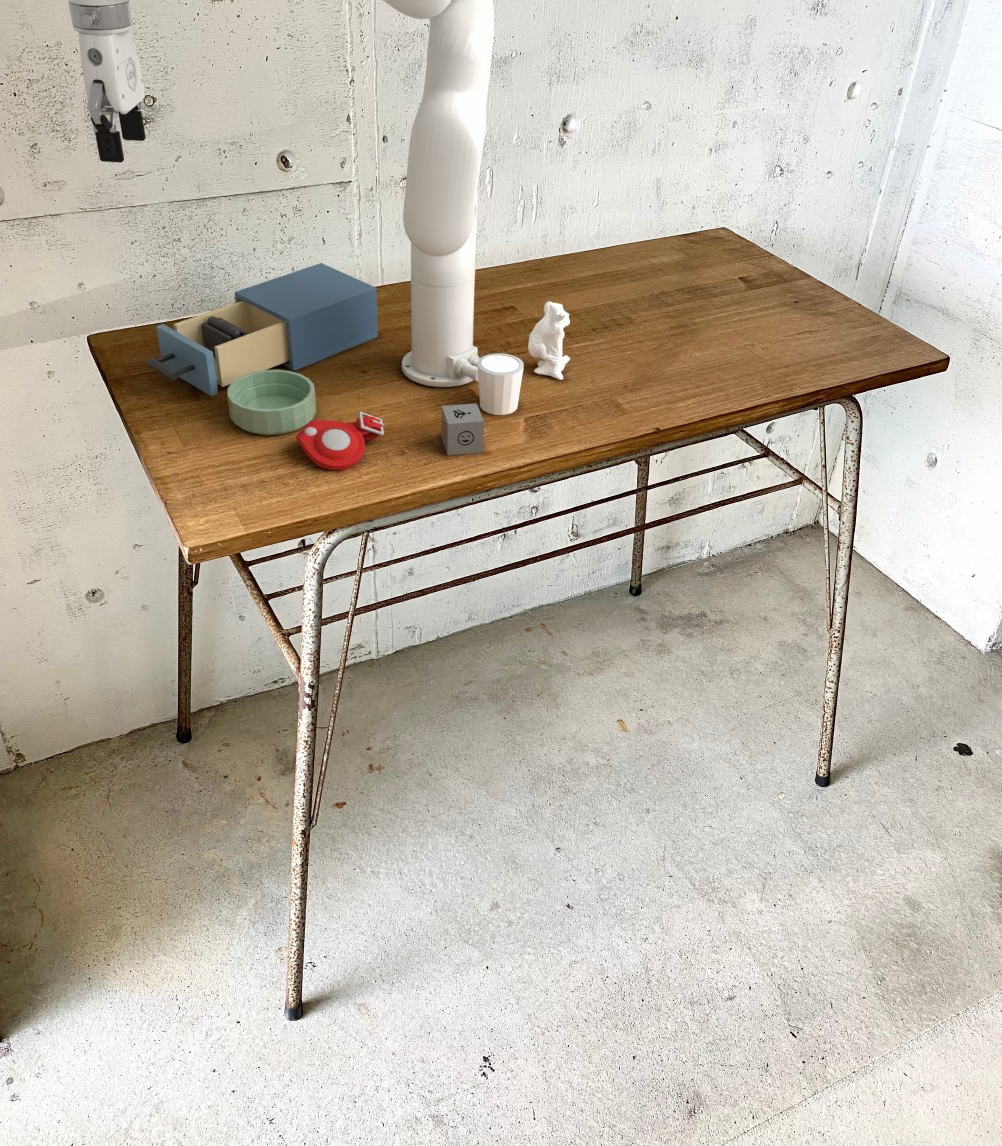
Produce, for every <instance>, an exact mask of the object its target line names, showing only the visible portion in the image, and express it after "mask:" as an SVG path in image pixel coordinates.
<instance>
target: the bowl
mask: <svg viewBox="0 0 1002 1146" xmlns="http://www.w3.org/2000/svg"><path fill="white" fill-rule="evenodd" d="M226 392H227V395H226V396H227V404H228V411H229V418H230V419H231V421H232V422H233V424H234V425H235V426H237V427H238V428H241V429H242V430H244V431H246V432H248V433H252V434H255V435H262V436H278V435H284V434H285V435H286V434H291V433H292V432H296V431H299V430H301V429H303V428H304V426H305V425H306V424H308V423H309V422H311V421H313V420H314V418H315V415H316V413H317V407H316V406H317V405H316V404H317V402H316V390H315V384H314V383H313V381H312V380H311V379H310V378H309V377H307V376H305V375H303V374H301V373H299V372H296V371H292V370H283V369H267V370H263V371H258V372H253V373H249V374H247V375H244V376H242V377H239V378H238V379H236V380H235V381H234V382H232V383H231V384H229V385H228V387H227V391H226Z"/></svg>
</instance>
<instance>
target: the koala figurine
mask: <svg viewBox="0 0 1002 1146" xmlns="http://www.w3.org/2000/svg"><path fill="white" fill-rule="evenodd" d="M543 312H544V313H543V314H544V316H543V317H542V318H541V319H540V320H539V321H538V322H537V323H536V324H535V326H534V327H533V329H532V331H531V332H530V334H529V337H528V343H527V348H528V352H529V354H530V356H531V357H533V358H535V359H539V358H541V359H542V360H539V361H538V362H537V366H538V367H536V368H534V371H533V372H534V373H535V374H537V375H544V376H550V377H552V378H554V379H556V380H562V381H563V379H564V376H563V374H562V371H563V370H565V366H566V365H567V364H568V362H569V361H570V360H571V358H570V357H569V355H564V354H563V339H565V331H564V328H566V327H569V325H570V323H571V321H570V317H569V316H570V313H569V312H567V311H565V310H564V307H563V304H562V303H558V302H552V301H546V302H545V304H544V307H543ZM563 355H564V356H563Z"/></svg>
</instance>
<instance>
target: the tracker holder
mask: <svg viewBox="0 0 1002 1146" xmlns="http://www.w3.org/2000/svg"><path fill="white" fill-rule="evenodd" d="M355 420H356V421H354V422H353V421H352V422H344V421H337V420H325V419H313V420H311V421H310V422H309V423H307V424H306V425H305V426H304V427H302V428H301V429H300V431H299V432H298V433H297V435H296V436H295V439H296V440H297V442H298V444H299V445H300V446H301V448H302V450H303V451H304V453H305V455H306V456H307V457H308V458H309V459H310V460H311V461H312V462H313V463H314V464H315V465H316V466H318V467H320V468H322V469H325V470H330V471H341V470H347V469H350V468H352V467H353V466H355V465H356V464H358V463H359V462H360V461H361V459H362V457H363V455H364V452H365V449H366V442H367V441H371V440H374V439H376V438H377V437H379V436H384V435H385V431H384V427H385V424H384V423H383V419H382V418H381V417H380V418H379V417H376V416H374V415H371V414H368V413H365V412H363V411H359V412H358V417H357V418H356V419H355Z"/></svg>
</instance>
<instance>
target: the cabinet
mask: <svg viewBox="0 0 1002 1146" xmlns="http://www.w3.org/2000/svg"><path fill="white" fill-rule="evenodd" d="M377 293H378V292H377V287H375V286H374V285H372V284H369V283H368V282H367V283H366V282H365V281H362V280H360V279H358V278H356V277H353V276H352V275H349V274H347V273H345V272H342V271H341V270H339V269H336V268H333V267H332V266H329V265H327V264H325V263H323V262H320V263H316V264H314V265H311V266H308V267H305V268H302V269H299V270H296V271H293V272H289V273H286V274H284V275H281V276H278V277H275V278H272V279H269V280H266V281H263V282H261V283H257V284H254V285H252V286H249V287H245V288H242V289H240V290H236V291H234V301H235V302H234V303H237V302H239V301H242V300H243V301H245V302H247V303H249V304H251V305H252V306H254V307H256V308H258V309H260V310H262V311H264V312H266V313H268V314H270V315H272V316H274V317H276V318H278V319H280V320H282V321H284V322H286V323H287V334H288V345H289V357H290V361H287V362H285V363H282V364H280V365H281V366H283V367H286V368H287V369H289V370H290V371H292V372H296V371H297V370H300V369H302V368H305V367H308V366H310V365H313V364H316V363H317V362H320V361H322V360H325V359H327V358H329V357H332V356H334V355H335V356H336V355H337V354H339V353H342V352H344V351H347V350H349V349H352V348H354V347H358V346H359V345H362V344H364V343H367V342H369V341H372V340H374V339H376V338H378V337H379V334H378V333H379V329H378V328H379V326H378V295H377Z"/></svg>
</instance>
